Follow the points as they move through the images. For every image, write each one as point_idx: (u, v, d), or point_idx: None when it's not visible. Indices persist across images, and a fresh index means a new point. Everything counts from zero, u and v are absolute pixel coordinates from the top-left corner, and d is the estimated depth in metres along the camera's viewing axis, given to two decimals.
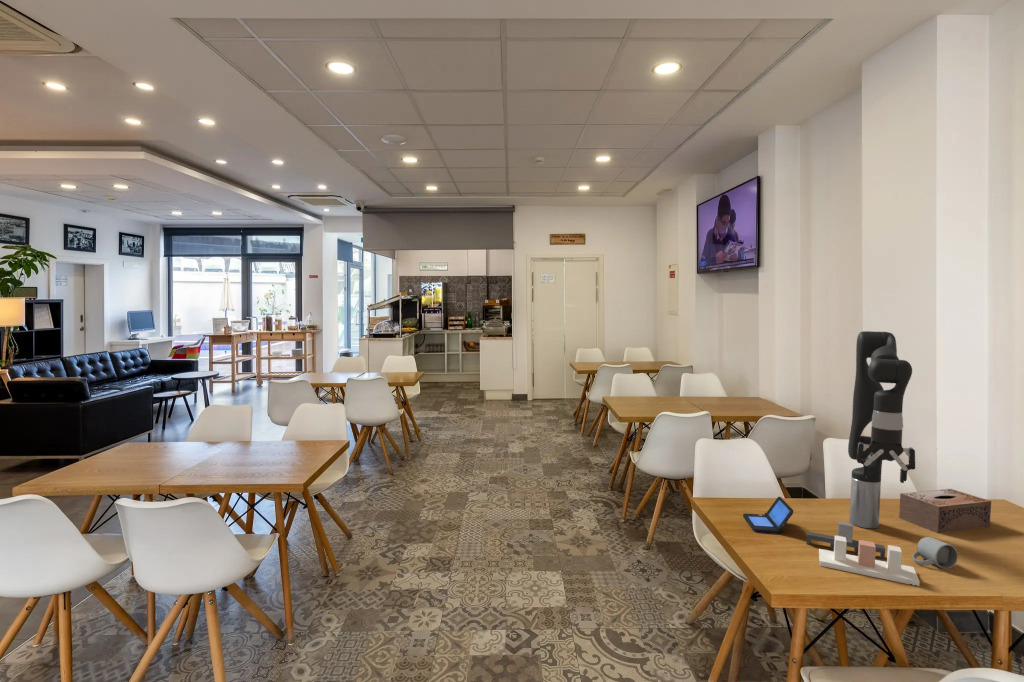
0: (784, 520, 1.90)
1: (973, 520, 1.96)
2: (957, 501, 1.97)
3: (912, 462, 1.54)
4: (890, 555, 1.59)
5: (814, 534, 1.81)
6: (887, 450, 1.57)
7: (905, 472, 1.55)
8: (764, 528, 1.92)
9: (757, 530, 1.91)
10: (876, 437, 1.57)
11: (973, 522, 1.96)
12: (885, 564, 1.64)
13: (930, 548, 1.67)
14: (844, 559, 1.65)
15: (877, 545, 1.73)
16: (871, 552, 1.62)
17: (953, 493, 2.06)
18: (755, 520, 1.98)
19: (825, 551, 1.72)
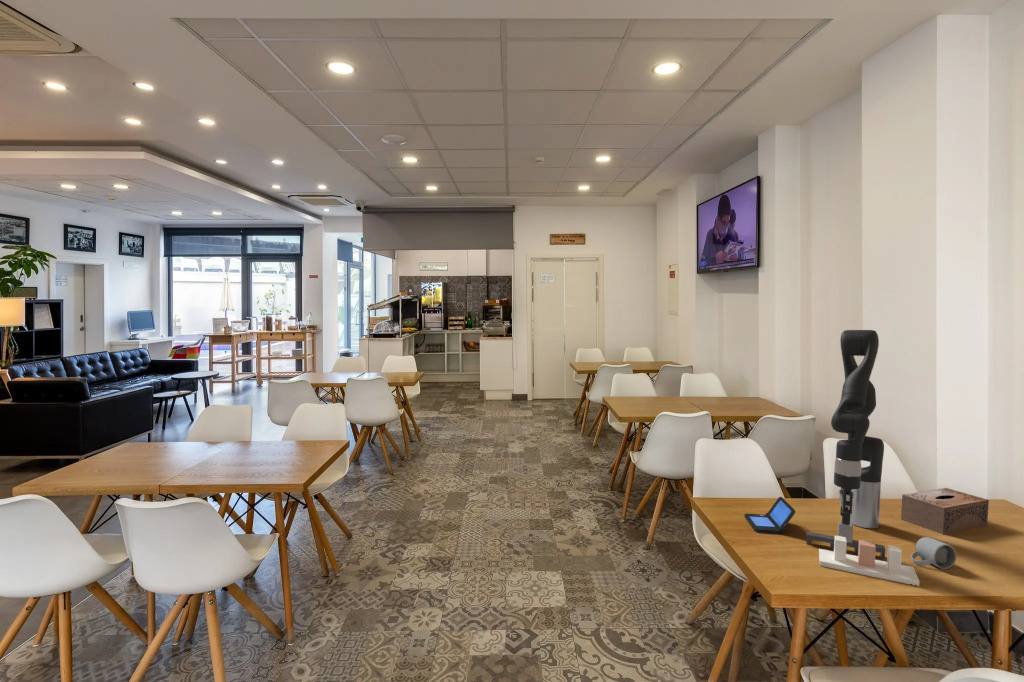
0: (786, 520, 1.90)
1: (973, 519, 1.97)
2: (958, 501, 1.97)
3: None
4: (890, 555, 1.59)
5: (814, 534, 1.81)
6: None
7: (846, 506, 1.80)
8: (766, 528, 1.91)
9: (759, 530, 1.91)
10: (856, 485, 1.72)
11: (973, 521, 1.97)
12: (885, 564, 1.64)
13: (928, 548, 1.67)
14: (844, 559, 1.65)
15: (877, 545, 1.73)
16: (871, 552, 1.62)
17: (950, 492, 2.07)
18: (757, 520, 1.98)
19: (825, 551, 1.72)
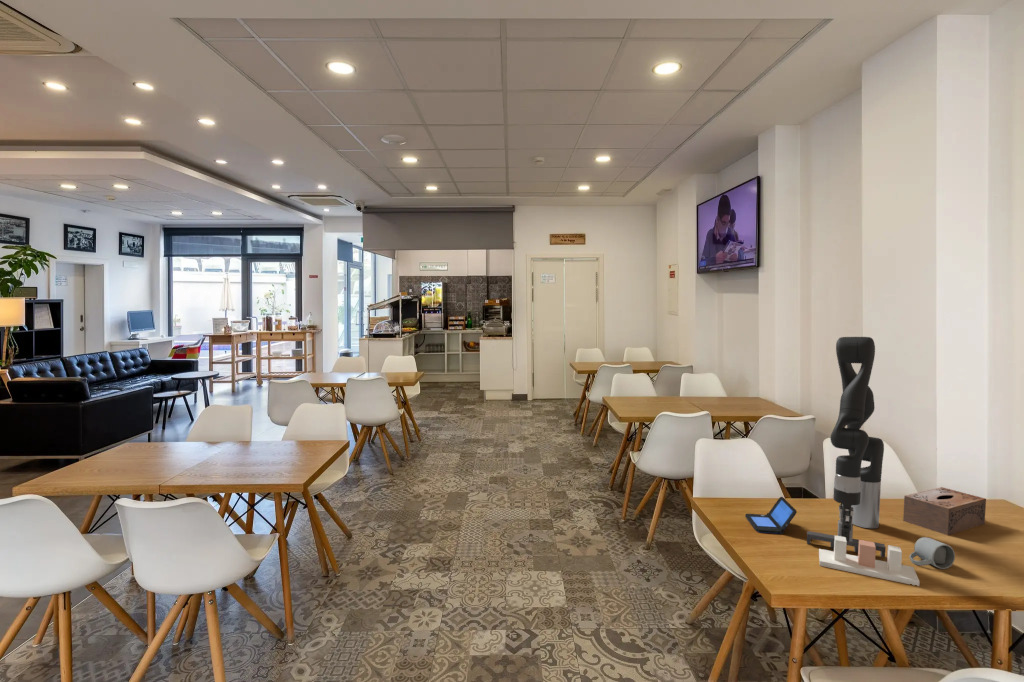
0: (787, 520, 1.90)
1: (973, 518, 1.98)
2: (959, 501, 1.98)
3: None
4: (890, 555, 1.59)
5: (814, 533, 1.81)
6: None
7: None
8: (767, 528, 1.91)
9: (760, 530, 1.90)
10: (856, 501, 1.73)
11: (973, 521, 1.98)
12: (885, 564, 1.64)
13: (927, 548, 1.67)
14: (844, 559, 1.65)
15: (877, 544, 1.73)
16: (871, 552, 1.62)
17: (948, 492, 2.07)
18: (758, 520, 1.98)
19: (825, 551, 1.72)
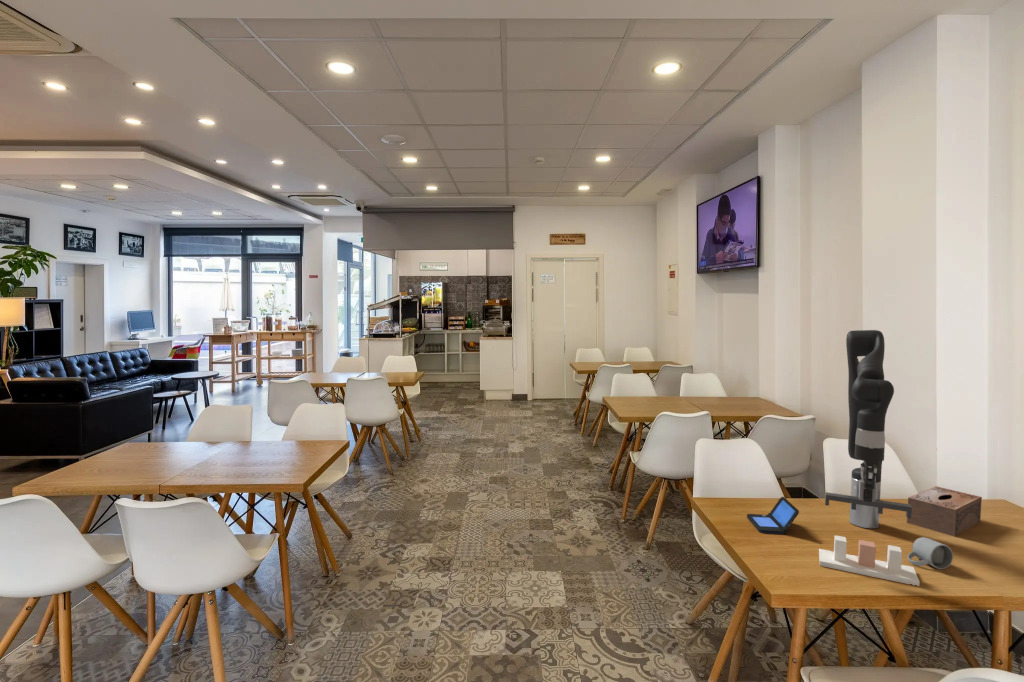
0: (789, 520, 1.90)
1: (972, 518, 1.99)
2: (960, 501, 1.98)
3: None
4: (890, 555, 1.59)
5: (833, 494, 1.68)
6: None
7: None
8: (770, 529, 1.91)
9: (763, 531, 1.90)
10: (880, 457, 1.59)
11: (972, 520, 1.99)
12: (885, 564, 1.64)
13: (925, 548, 1.67)
14: (844, 559, 1.65)
15: (903, 504, 1.59)
16: (871, 552, 1.62)
17: (945, 491, 2.08)
18: (760, 521, 1.98)
19: (825, 551, 1.72)
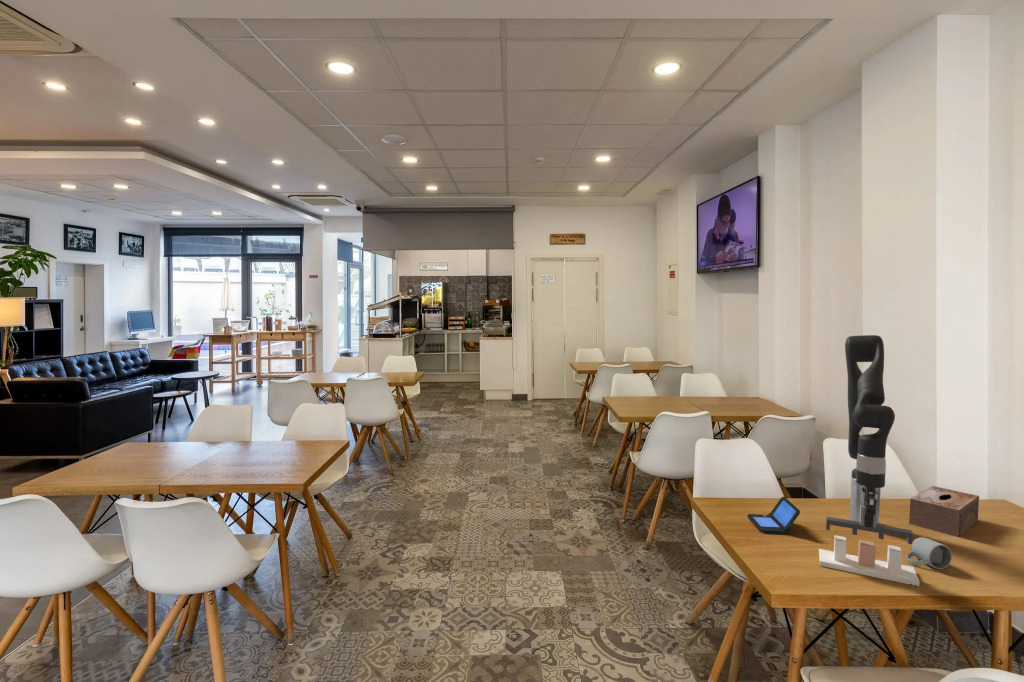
0: (791, 520, 1.90)
1: (971, 517, 1.99)
2: (960, 500, 1.98)
3: None
4: (890, 555, 1.59)
5: (834, 519, 1.68)
6: None
7: None
8: (771, 529, 1.91)
9: (764, 531, 1.90)
10: (881, 483, 1.59)
11: (971, 519, 1.99)
12: (885, 564, 1.64)
13: (924, 548, 1.67)
14: (844, 559, 1.65)
15: (903, 530, 1.59)
16: (871, 552, 1.62)
17: (943, 491, 2.09)
18: (761, 521, 1.98)
19: (825, 551, 1.72)
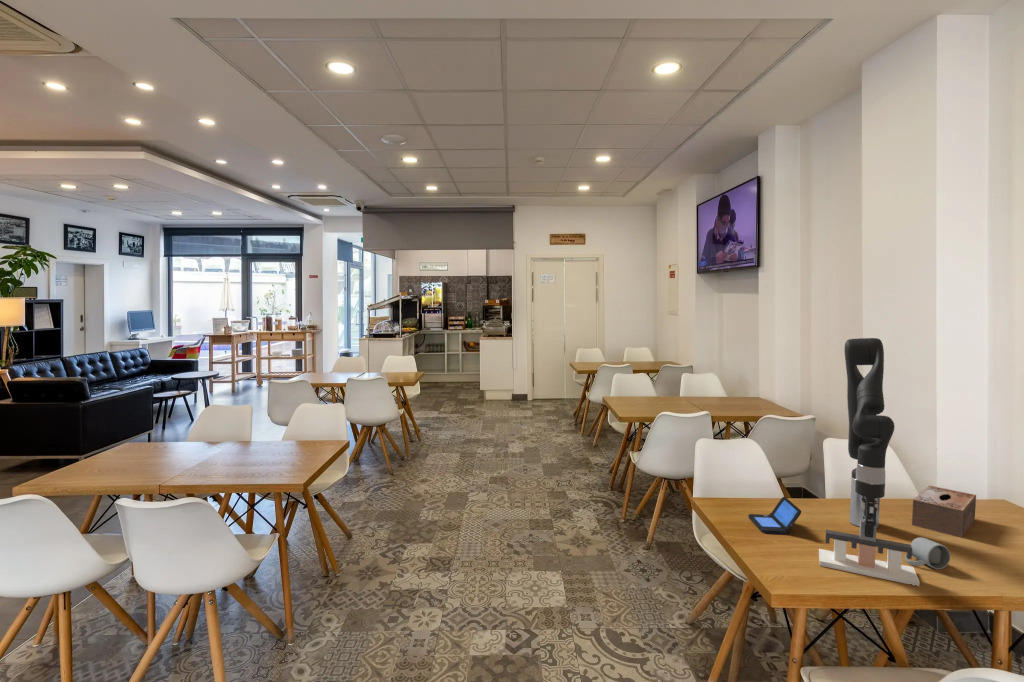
0: (792, 520, 1.90)
1: (971, 516, 2.00)
2: (960, 500, 1.98)
3: None
4: (890, 555, 1.59)
5: (834, 532, 1.68)
6: None
7: None
8: (772, 529, 1.91)
9: (766, 531, 1.90)
10: (881, 493, 1.59)
11: (971, 519, 2.00)
12: (885, 564, 1.64)
13: (922, 548, 1.66)
14: (844, 559, 1.65)
15: (903, 544, 1.60)
16: (871, 552, 1.62)
17: (941, 491, 2.09)
18: (762, 521, 1.98)
19: (825, 551, 1.72)
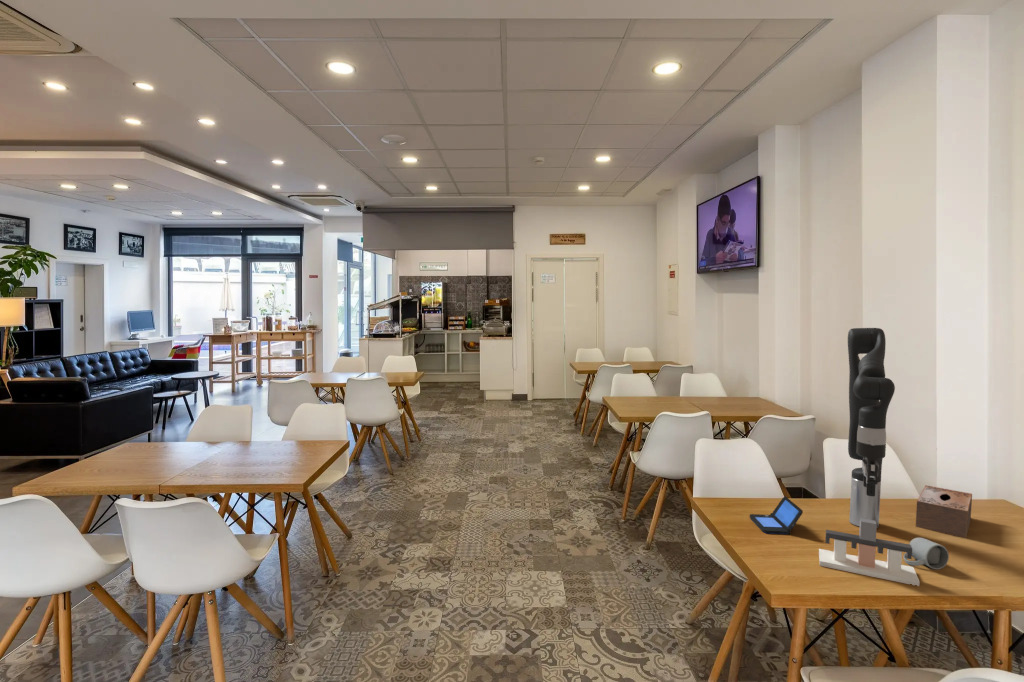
0: (793, 520, 1.90)
1: None
2: (960, 500, 1.98)
3: None
4: (890, 555, 1.59)
5: (834, 532, 1.68)
6: None
7: (870, 477, 1.70)
8: (774, 529, 1.91)
9: (767, 531, 1.90)
10: (881, 454, 1.62)
11: (969, 518, 2.00)
12: (885, 564, 1.64)
13: (921, 548, 1.66)
14: (844, 559, 1.65)
15: (903, 544, 1.60)
16: (871, 552, 1.62)
17: (938, 490, 2.09)
18: (763, 521, 1.98)
19: (825, 551, 1.72)
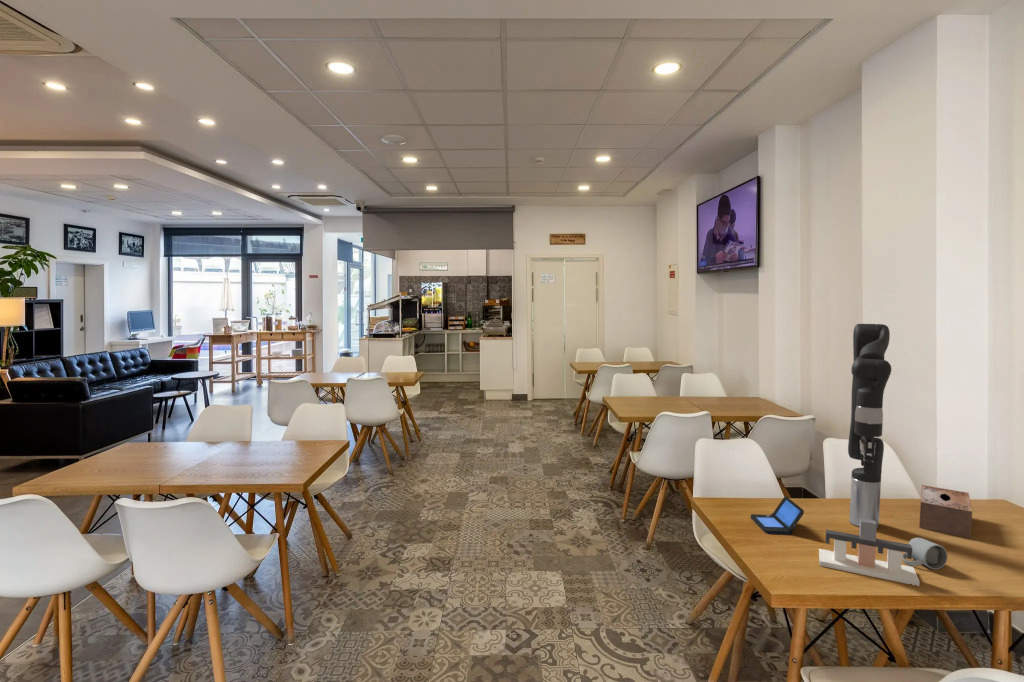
0: (795, 520, 1.90)
1: None
2: (961, 500, 1.99)
3: None
4: (890, 555, 1.59)
5: (834, 532, 1.68)
6: None
7: (867, 456, 1.77)
8: (775, 529, 1.91)
9: (769, 531, 1.90)
10: (878, 432, 1.69)
11: None
12: (885, 564, 1.64)
13: (919, 548, 1.66)
14: (844, 559, 1.65)
15: (903, 544, 1.60)
16: (871, 552, 1.62)
17: (936, 490, 2.10)
18: (764, 521, 1.98)
19: (825, 551, 1.72)
